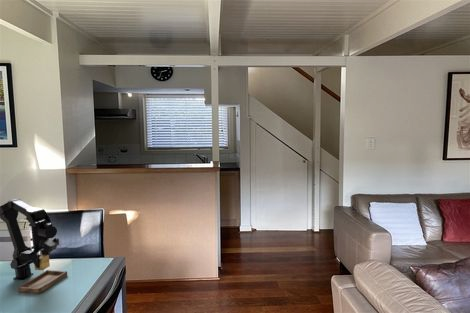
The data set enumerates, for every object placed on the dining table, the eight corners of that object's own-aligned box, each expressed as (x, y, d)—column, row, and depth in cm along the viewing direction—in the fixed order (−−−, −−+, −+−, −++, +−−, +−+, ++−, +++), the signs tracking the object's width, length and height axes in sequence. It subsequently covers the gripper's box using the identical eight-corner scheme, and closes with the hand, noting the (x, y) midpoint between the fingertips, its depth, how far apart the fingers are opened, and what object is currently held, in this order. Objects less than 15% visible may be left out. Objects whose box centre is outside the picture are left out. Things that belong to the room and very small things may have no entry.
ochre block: (34, 269, 159) (33, 258, 158) (42, 265, 163) (40, 254, 162) (42, 270, 158) (41, 258, 157) (49, 266, 162) (48, 254, 161)
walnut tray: (18, 292, 154) (18, 287, 153) (47, 274, 171) (47, 269, 171) (40, 294, 151) (39, 289, 151) (67, 275, 169) (67, 271, 169)
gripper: (38, 243, 148) (41, 275, 150) (66, 229, 166) (69, 258, 168) (17, 242, 150) (21, 274, 152) (47, 228, 168) (50, 257, 170)
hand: (42, 265), depth 160 cm, fingers closed on ochre block, 4 cm apart
